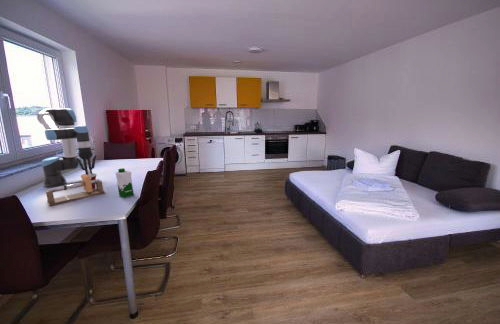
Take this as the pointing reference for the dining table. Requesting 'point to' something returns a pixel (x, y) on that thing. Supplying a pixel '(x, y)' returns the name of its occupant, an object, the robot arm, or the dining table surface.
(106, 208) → the dining table surface
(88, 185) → the collar
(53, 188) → the steel pipe
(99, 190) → the pipe stand
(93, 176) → the plastic cup
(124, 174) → the milk carton
